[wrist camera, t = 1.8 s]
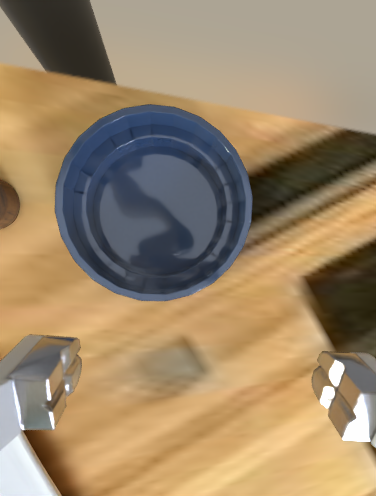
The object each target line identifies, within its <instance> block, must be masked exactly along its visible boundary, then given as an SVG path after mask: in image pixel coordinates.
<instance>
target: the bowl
mask: <svg viewBox="0 0 376 496" xmlns="http://www.w3.org/2000/svg"><path fill="white" fill-rule="evenodd" d="M55 214H56V218H57V222H58V226H59V230H60V234H61V237H62V239H63V241H64V243H65V245H66V247H67V248H68V250H69V252H70V254H71V256H72V257H73V259H74V260H75V262H76V263H77V264H78V265H79V266H80V267H81V268H82V269H83V270H84V271H85V272H86V273H87V274H88V275H89V276H90V277H91V279H93V280H94V281H96V282H97V283H99V284H101V285H102V286H104V287H106V288H107V289H109V290H111V291H112V292H114V293H116V294H119V295H123V296H126V297H130V298H133V299H137V300H141V301H169V300H173V299H177V298H181V297H185V296H190V295H192V294H194V293H196V292H198V291H200V290H201V289H203V288H205V287H207V286H209V285H211V284H212V283H214V282H215V281H216V280H217V279H218V278H219V277H220V276H221V275H222V274H223V273H224V272H225V271H227V270H228V269H229V268H230V266H231V265H232V264H233V262H234V260H235V259H236V257H237V256H238V254H239V253H240V251H241V249H242V248H243V246H244V243H245V240H246V237H247V234H248V231H249V228H250V225H251V215H252V193H251V188H250V183H249V178H248V174H247V171H246V169H245V167H244V165H243V163H242V161H241V159H240V157H239V155H238V153H237V151H236V149H235V148H234V147H233V146H232V145H231V143H230V142H229V141H228V140H227V139H226V138H225V136H224V135H223V134H222V133H221V132H220V131H219V130H218V129H216V128H215V127H214V126H212V125H211V124H209V123H208V122H207V121H205V120H204V119H202V118H201V117H199V116H197V115H194V114H192V113H189V112H187V111H184V110H181V109H179V108H176V107H170V106H161V105H152V104H148V105H141V106H135V107H129V108H124V109H121V110H118V111H116V112H114V113H112V114H110V115H107V116H105V117H103V118H101V119H99V120H98V121H97V122H95V123H94V124H93V125H92V126H91V127H89V128H88V129H87V130H86V131H85V132H84V133H82V134H81V135H80V136H79V137H78V138H77V140H76V141H75V143H74V144H73V146H72V147H71V149H70V150H69V152H68V153H67V155H66V156H65V158H64V161H63V164H62V167H61V170H60V173H59V176H58V179H57V182H56V192H55Z"/></svg>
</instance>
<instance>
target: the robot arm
mask: <svg viewBox="0 0 376 496" xmlns="http://www.w3.org/2000/svg"><path fill="white" fill-rule="evenodd" d="M80 348H81V347H80V339H78V338H74V337H61V336H49V335H46V336H44V335H32V334H30V335H28V336H25V337H24V338H23V339H22V340H21V341H20V342H19V343H18V344H17V345H16V346H15V347H14V348H13V349H12V350H11V351H10V352H9V353H8V354H7V355H6V356H5V357H4V358H3V359H2V360H1V361H0V451H1V450H2V449H3V448H4V447H5V446H6V445H8V444H9V443H10V442H11V441H12V440H13V439H14V438H15V437H17V436H18V435H19V434H20V433H21V432H22V431H21V430H54V429H55V427H56V425H57V423H58V421H59V419H60V418H61V416H62V414H63V412H64V410H65V408H66V397H67V396H69V395H70V394H71V393H73V392H74V390H75V388H76V386H77V384H78V381H79V378H80V374H81V368H82V360H81V358H80V357H79V356H78V355H77V353H78V352H79V350H80ZM317 361H318V363H319V365H320V366H319V367H318V368H316V369H315V370H314V371H313V375H312V387H313V390H314V393H315V395H316V397H317V398H318V400H319V402H320V403H321V404H323V405H324V406H325V407H326V408H328V409H329V411H328V417H329V418H330V420H331V421H332V423H333V425H334V426H335V428H336V430H337V431H338V433H339V434H340V436H341V438H342V439H343V440H354V441H369V442H371V444H372V445H373V446H374V447H375V448H376V359H375V358H374V357H373V356H372V355H370V354H368V353H356V352H351V353H349V352H328V351H322V352H321V353H320V354H319V357H318V359H317Z"/></svg>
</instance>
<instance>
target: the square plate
mask: <svg viewBox="0 0 376 496" xmlns="http://www.w3.org/2000/svg"><path fill="white" fill-rule="evenodd" d="M21 431H22V432H21V433H20V434H19V435H18V436H17V437H15V438H14V439H13V440H12V441H11V442H10V443H9V444H8V445H6V446H5V447H4V448H3V449H2V450H1V451H0V496H62V495H61V493H60V492H59V490H58V489H57V487H56V486H55V484H54V483H53V481H52V479H51V478H50V476H49V475H48V473H47V472H46V470H45V468H44V467H43V465H42V463H41V462H40V460H39V458H38V457H37V455H36V453H35V451H34V450H33V448H32V446H31V445H30V443H29V441H28V439H27V437H26V435H25V434H24V432H23V430H21Z"/></svg>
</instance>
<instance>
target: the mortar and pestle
mask: <svg viewBox="0 0 376 496" xmlns="http://www.w3.org/2000/svg"><path fill="white" fill-rule="evenodd" d="M19 207H20V203H19V198H18V195H17V193H16V192H15V190H14V189H13V188H12V187H11V186H10V185H9V184H8V183H6V182H4V181H3V180H0V229H2V228H5V227H7V226H8V225H10V224H11V223H12V222H13V221H14V220H15V219H16V217H17V215H18V212H19Z"/></svg>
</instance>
